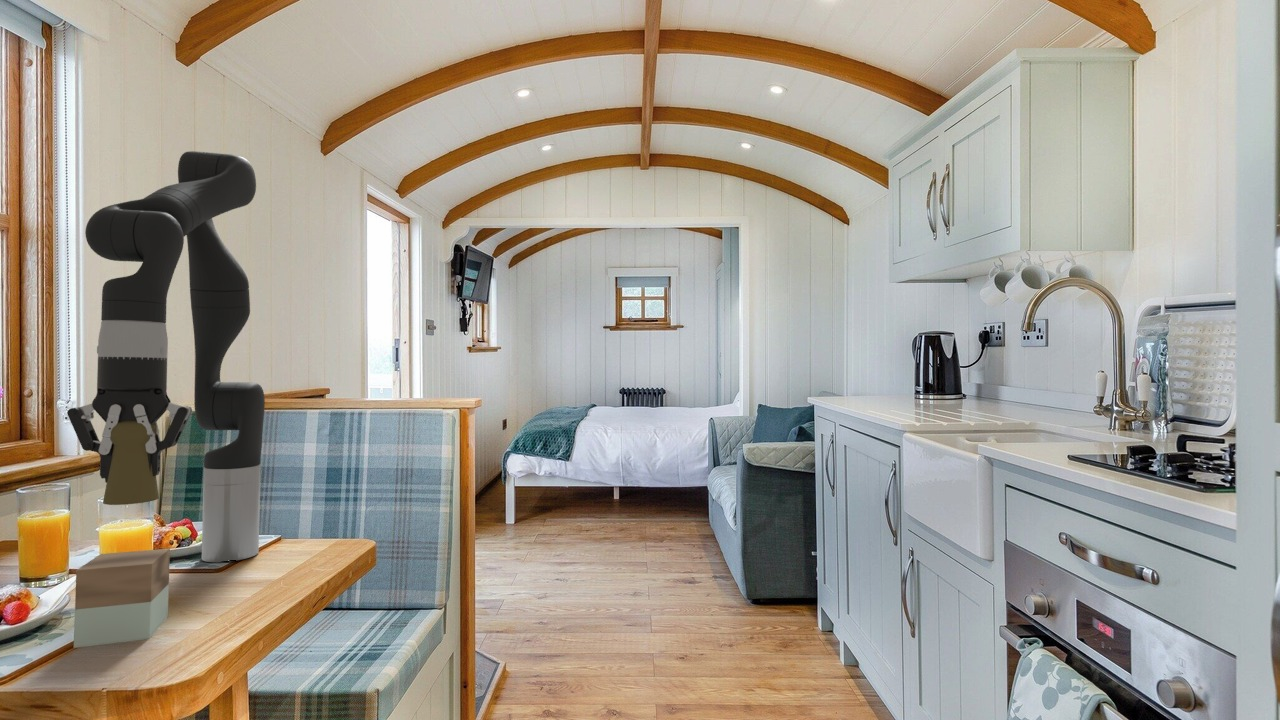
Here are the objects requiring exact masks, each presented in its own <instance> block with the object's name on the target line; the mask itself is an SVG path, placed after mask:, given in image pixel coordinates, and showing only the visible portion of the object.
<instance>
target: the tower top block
mask: <svg viewBox="0 0 1280 720" xmlns="http://www.w3.org/2000/svg"><path fill="white" fill-rule="evenodd" d="M170 552H171V549H170V548H159V549H147V550H146V549H145V550H134V551H120V552H110V553H109V552H108V553H107V552H106V553H100V554H98V555H97V556H95V557H94V558H93V559H91V560H89V561H88V562H87V563H85V564H84V565H82V566H81V567H79V568H77V569H76V570H75V602H74V611H75V610H76V609H86V608H96V607H105V606H115V605H125V604H135V603H145V602H151V601H152V600H153V599H154V598H155V597H156V596H157V595H158V594H159V593H160V592H161V591H162V590H163V589H164V588H165V587H166V586H167V585H168V584H169V585H170V564H171V563H170V560H171V559H170V554H171V553H170Z"/></svg>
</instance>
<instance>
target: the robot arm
mask: <svg viewBox="0 0 1280 720" xmlns="http://www.w3.org/2000/svg"><path fill="white" fill-rule="evenodd" d="M177 166H178V167H177V178H178V179H177V180H178V181H177V182H178V183H174V184H173V183H172V184H170V185H167V186H164V187H162V188H159V189H157V190H155V191H154V192H151V193H150V194H149V195H146V196H145V197H144V198H140V199H133V200H129V201H125V202H120V203H114V204H111V205H108V206H105V207H102V208H100V209H99V210H97V211H96V212H95V213H94V214H92V216H91V217H90V218H89V219H88V221H87V223H86V226H85V230H84V231H85V233H84V234H85V239H86V242H87V244H88V246H89V248H90V249H91V250H92V251H93V252H94V253H95V254H96V255H97V256H99V257H101V258H104V259H105V260H108V261H109V260H110V261H115V262H116V261H117V262H137V263H138V262H139V263H142V264H141V266H140V267H139V269H138V270H137V271H136V272H135V273H133V274H131V275H127V276H121V277H115V278H111V279H108V280H107V281H105V282H104V284H103V286H102V293H101V316H100V317H101V319H100V320H101V321H100V322H101V323H100V329H99V332H98V339H97V340H98V341H97V342H98V343H97V346H96V354H97V373H96V375H97V376H96V381H97V382H96V395H95V397H94V398H93V400H92V402H91V403H89V404H85V405H83V406H79V407H78V406H76V407H72V408H69V409H68V410H67V412H66V414H67V416H68V419H69V421H70V424H71V425H72V428H73V430H74V432H75V434H76V437H77V440H78V441H79V444H80V445H81V449H82V450H83V451H88V452H89V451H90V452H94V453H97V454H98V455H99V457H100V460H99V463H100V464H99V476H100V478H101V479H104V483H106V484H107V480H108V476H109V471H110V466H111V461H112V453H113V447H114V444H113V443H112V442H111V440H110V436H111V430H112V428H113V427H114V426H115V425H116V424H118V423H119V422H123V421H137V423H141V424H143V425H144V426H145V427H146V429H147V435H149V436H150V440H149V441H148V442H147V443H146V444H145V446H146V451H147V452H148V453H150V454H147V455H148V462H149V469H150V470H151V465H152V473H153V476H156V477H157V476H159V474H160V473H161V460H162V459H161V456H162V452H163V451H164V450H167V449H170V448H172V447H175V446H176V445H177V444H178V441H179V440H180V439H181V438H180V437H181V435H182V433H183V431H184V429H185V427H186V424H187V422H188V421H189V418H190V416H191V413H192V411H193V410H192V409H193V408H192V407H191V406H188V405H184V406H183V405H180V404H177V403H173V402H171V399H170V398H169V396H168V393H167V389H168V386H167V383H168V381H167V380H168V349H169V348H168V343H169V341H168V338H169V337H168V332H167V298H168V293H169V289H170V285H171V283H172V280H173V277H174V274H175V271H176V268H177V266H178V263H179V260H180V258H181V255H182V253H183V250H184V249H183V248H184V242H185V239H184V237H186V239H187V240H186V242H187V251H188V252H187V255H188V271H189V272H188V273H189V274H188V275H189V295H190V297H189V298H190V307H191V310H190V311H191V319H192V326H193V339H194V341H193V342H194V356H195V357H194V398H193V399H194V415H195V418H196V422H197V424H198V427H200V428H201V429H202V430H204V431H205V430H206V431H238V434H237V437H236V439H235V440H233V441H232V442H230V443H228V444H227V445H224V446H221V447H218V448H214V449H212V450H209V451H207V452H206V453H205V454H204V456H203V480H202V481H203V489H202V492H203V493H202V526H201V533H202V536H201V561H204V562H207V563H222V562H221V561H228V560H236V561H241V560H246V559H248V558H249V559H250V558H252V557H254V556H256V555H258V554H259V550H260V549H259V548H260V547H259V545H260V544H259V543H260V507H261V506H260V502H261V501H260V500H261V464H262V463H261V460H262V459H261V458H262V447H263V427H264V419H265V417H264V416H265V408H266V407H265V405H266V404H265V403H266V401H265V400H266V399H265V393H264V389H263V387H262V386H261V384H260V383H257V382H252V381H251V382H246V381H245V382H244V381H243V382H242V381H241V382H240V381H238V382H237V381H234V382H233V381H228V382H227V381H221V368H222V363H223V361H224V358H225V355H226V354H227V352H228V350H229V349H230V347H231V345H232V344H233V342H235V340H236V338H237V337H238V336H239V334H240V333H241V332H242V330H243V328H244V327H245V326H246V324H247V322H248V320H249V317H250V314H251V313H250V312H251V302H250V301H251V300H250V298H251V297H250V285H249V279H248V276H247V274H246V272H245V270H244V269H243V267H242V266H241V265H240V263H239V262H238V260H237V259H236V258H235V256H234V255H233V254H232V253H231V252H230V250H229V249H228V248H227V246H226V245H225V244H224V242H223V241H222V239H221V237H220V236H219V234H218V232H217V229H216V227H215V224H214V220H213V218H216V217H218V216H220V215H223V214H226V213H229V212H230V211H232V210H235V209H239V208H242V207H245V206H248V205H249V204H250V203H251V202H252V201H253V200H254V198H255V195H256V192H257V191H256V190H257V179H256V174H255V170H254V168H253V165H252V164H251V162H250V161H249V160H247V159H246V158H245V157H242V156H239V155H237V154H236V155H235V154H231V153H219V152H205V151H195V150H194V151H193V150H190V151H189V150H188V151H185V152H183V153H182V154H181V155H180V157H179V160H178V165H177ZM167 411H168V412H169V413H168V414H169V415H168V416H169V417H168V418H169V420H172V421H171V423H170V425H169V428H168V429H167V431H166V434H165V436H164V438H163V440H161V437H160V429H159V425H158V422H157V421H158V420H160V418H161V417H162V416H163V415H164V414H165V412H167ZM95 412H96V413H97V414H98V416H99V417H100V418H101V419H102V420H103V422H105V425H104V428H103V431H102V435H101V437H102V438H101V441H100V440H99V437H98V435H97V432H96V430H95V428H94V426H93V423H92V422H91V421H92V420H93V419H94V417H95V416H94V413H95ZM150 424H155V425H156V428H157V435H156V438H155V434H154V433H153V430H152V428H151V425H150ZM110 428H111V429H110Z"/></svg>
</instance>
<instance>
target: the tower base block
mask: <svg viewBox="0 0 1280 720" xmlns="http://www.w3.org/2000/svg"><path fill="white" fill-rule="evenodd" d="M169 585H170V583H169V584H168V585H167V586H166V587H165V588H164V589H163V590H162V591H161V592H160V593H159V594H158V595H157V596H156V597H155V598H154V599H153V600H152V601H151V602H145V603H135V604H125V605H115V606H105V607H96V608H86V609H76V610H75V609H74V618H73V619H74V621H73V622H74V624H73V627H74V628H73V649H75V648H84V647H92V646H93V647H94V646H99V645H100V646H101V645H110V644H116V643H117V644H118V643H125V642H135V641H142V640H150V639H151V638H152V637H153V636H154V635H155V633H156V632H157V631H158V630H159V628H160V627H161V626H162V625H163V624H164V623H165V621H166V620H167V619H168V618H169V592H170V591H169V590H170V589H169V587H170V586H169Z"/></svg>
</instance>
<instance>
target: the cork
mask: <svg viewBox="0 0 1280 720" xmlns="http://www.w3.org/2000/svg"><path fill="white" fill-rule="evenodd" d="M150 425H151V428H152V430H153V433H154V434H155V438H156V435H157V428H156V425H155V424H150ZM110 429H111V428H110ZM110 440H111V442H112V443H113V444H114V447H113V453H112V461H111V466H110V471H109V476H108V480H107V483H106V485H105V491H104V496H103V501H102V504H103V505H107V506H108V505H109V506H111V505H112V506H121V505H122V506H124V505H125V506H126V505H134V504H136V505H137V504H143V503H148V502H149V503H151V502H154V501H156V500H159V499H160V495H159V488H158V483H157V482H158V481H157V476H153V473H152V465H151V470H150V469H149V462H148V455H147V454H150V453H148V452H147V451H146V446H145V444H146V443H147V442H148V441H149V440H150V436H149V435H147V429H146V427H145V426H144V425H143V424H141V423H137V421H123V422H119V423H118V424H116V425H115V426H114V427H113V428H112V430H111V436H110Z"/></svg>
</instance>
